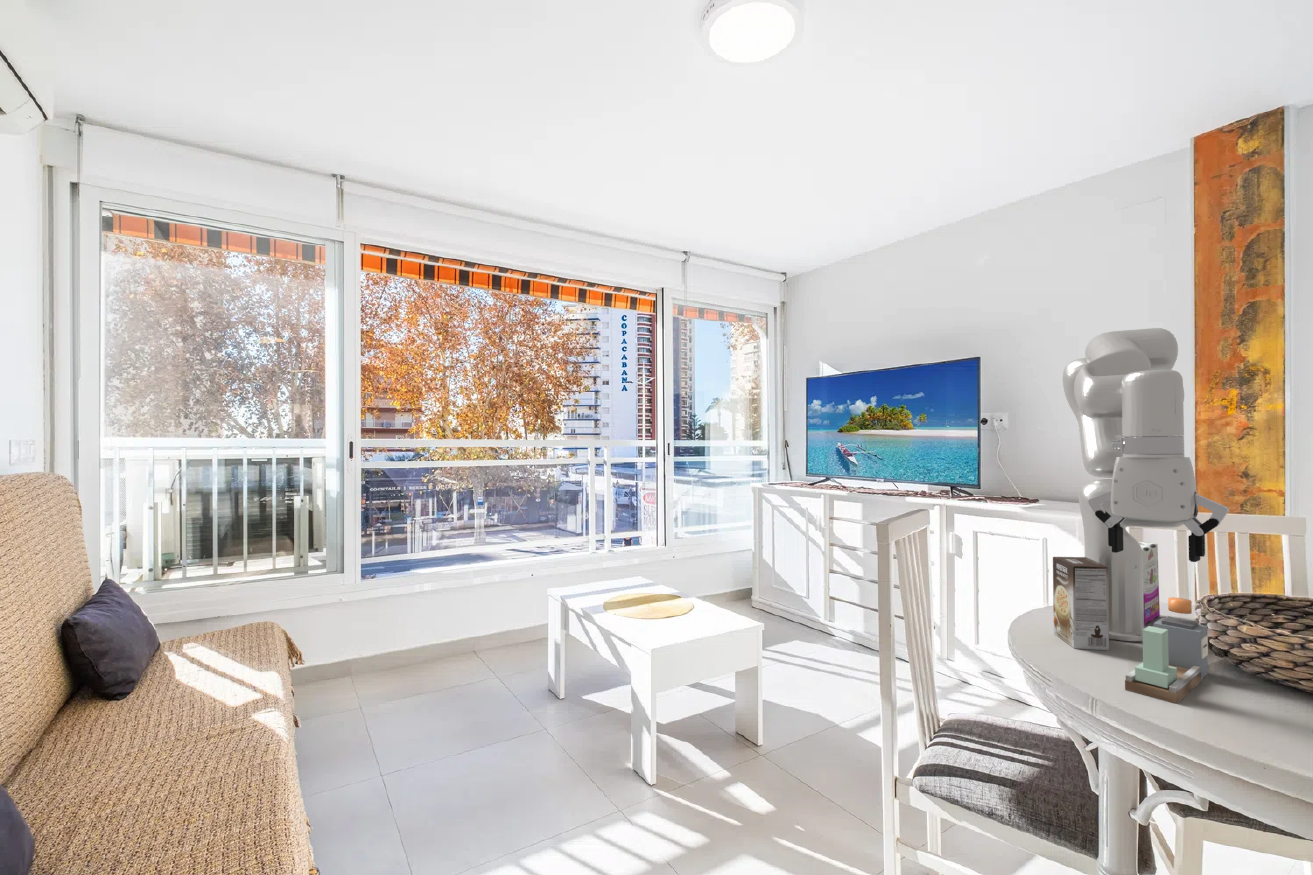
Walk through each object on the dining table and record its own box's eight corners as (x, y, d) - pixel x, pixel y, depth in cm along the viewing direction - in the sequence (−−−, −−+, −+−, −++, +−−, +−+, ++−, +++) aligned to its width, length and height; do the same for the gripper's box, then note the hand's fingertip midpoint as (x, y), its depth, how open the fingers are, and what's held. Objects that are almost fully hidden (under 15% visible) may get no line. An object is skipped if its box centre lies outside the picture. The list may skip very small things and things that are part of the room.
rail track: (1152, 669, 103) (1152, 655, 103) (1201, 681, 98) (1201, 667, 98) (1125, 689, 95) (1124, 675, 95) (1176, 703, 90) (1176, 688, 90)
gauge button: (1171, 607, 104) (1171, 596, 104) (1193, 611, 101) (1193, 600, 101) (1166, 610, 102) (1165, 599, 102) (1188, 614, 100) (1188, 603, 100)
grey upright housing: (1163, 662, 106) (1162, 614, 106) (1210, 673, 101) (1209, 623, 101) (1154, 669, 103) (1153, 619, 103) (1202, 680, 98) (1201, 628, 98)
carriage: (1145, 672, 97) (1144, 623, 97) (1177, 680, 94) (1176, 629, 94) (1135, 679, 94) (1134, 629, 94) (1167, 688, 91) (1166, 636, 91)
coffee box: (1051, 633, 122) (1050, 555, 122) (1086, 635, 121) (1085, 556, 121) (1073, 649, 113) (1072, 565, 113) (1111, 651, 112) (1110, 566, 112)
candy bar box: (1132, 611, 136) (1131, 540, 136) (1160, 616, 132) (1159, 543, 132) (1115, 620, 130) (1114, 546, 130) (1144, 626, 126) (1143, 549, 126)
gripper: (1080, 448, 99) (1081, 551, 99) (1220, 448, 85) (1223, 568, 85) (1096, 448, 103) (1098, 546, 103) (1233, 448, 89) (1235, 561, 89)
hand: (1154, 555), depth 94 cm, fingers open, 9 cm apart
